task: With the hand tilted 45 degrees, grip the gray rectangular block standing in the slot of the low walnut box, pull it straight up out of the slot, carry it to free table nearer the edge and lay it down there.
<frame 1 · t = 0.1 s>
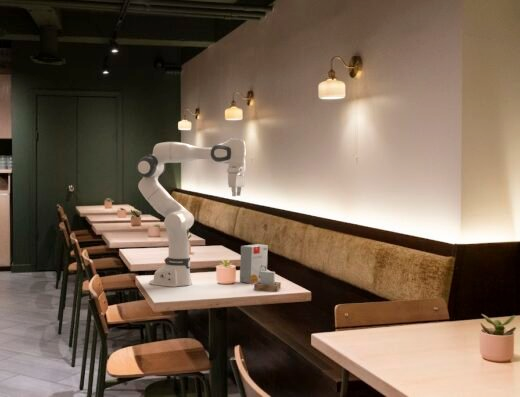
hand: (236, 195, 333), 48 cm above the table, tool pointing down, fingers open, 8 cm apart
hard drive box: (253, 281, 356), on the table
walnut box: (267, 288, 334), on the table
gray rectangular block: (267, 289, 334), resting in walnut box
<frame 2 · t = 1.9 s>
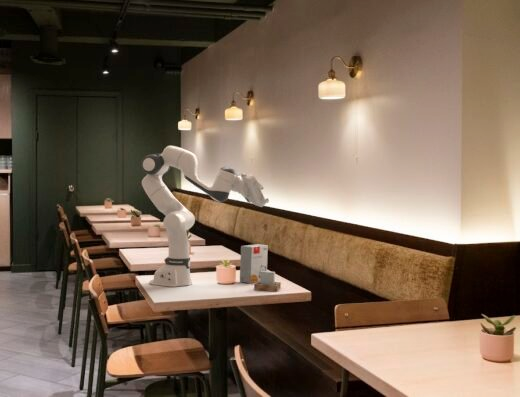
hand: (265, 194, 326), 49 cm above the table, tool horizontal, fingers open, 8 cm apart
nothing on the table moved.
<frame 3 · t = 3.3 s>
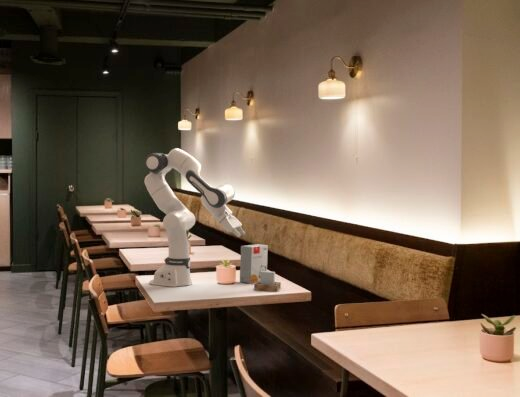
hand: (242, 235, 335), 27 cm above the table, tool tilted 45°, fingers open, 8 cm apart
nothing on the table moved.
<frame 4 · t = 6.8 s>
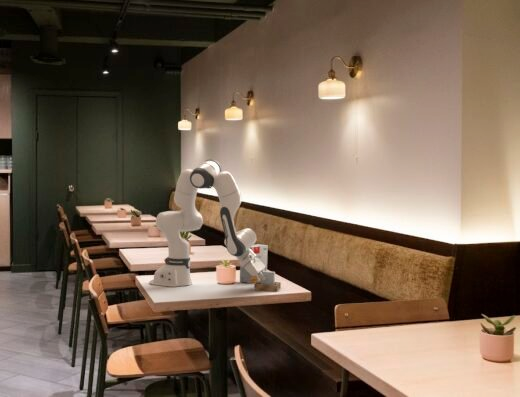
hand: (266, 278, 334), 5 cm above the table, tool tilted 45°, fingers closed on gray rectangular block, 3 cm apart
gray rectangular block: (267, 289, 334), resting in walnut box, touching gripper
everything else where it was.
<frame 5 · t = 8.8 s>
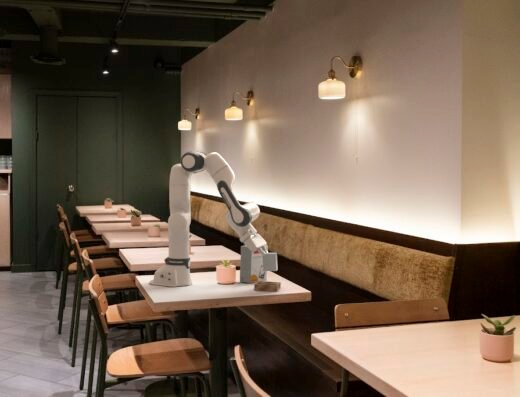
hand: (266, 254, 332), 18 cm above the table, tool tilted 45°, fingers closed on gray rectangular block, 3 cm apart
gray rectangular block: (270, 270, 333), point 10 cm above the table, tilted 7°, touching gripper
everything else where it was.
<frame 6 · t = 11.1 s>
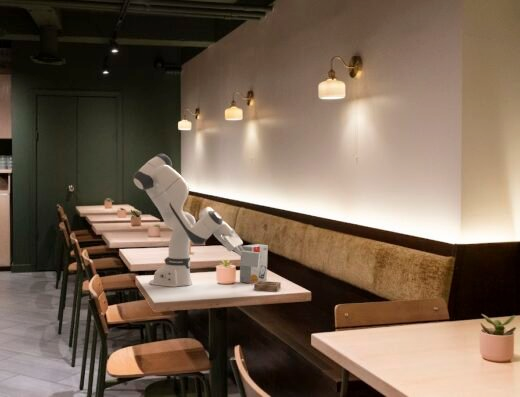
hand: (242, 254, 322), 19 cm above the table, tool tilted 45°, fingers closed on gray rectangular block, 3 cm apart
gray rectangular block: (258, 259, 321), point 17 cm above the table, tilted 86°, touching gripper
everything else where it was.
when the fingers open (7 cm above the table, at t = 14.3 s): gray rectangular block drops 1 cm, point 3 cm above the table.
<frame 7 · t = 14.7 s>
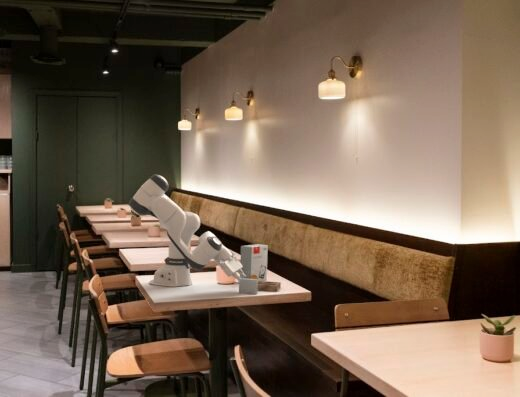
hand: (242, 278, 323), 7 cm above the table, tool tilted 45°, fingers open, 7 cm apart
gray rectangular block: (257, 286, 321), point 3 cm above the table, tilted 90°
everything else where it was.
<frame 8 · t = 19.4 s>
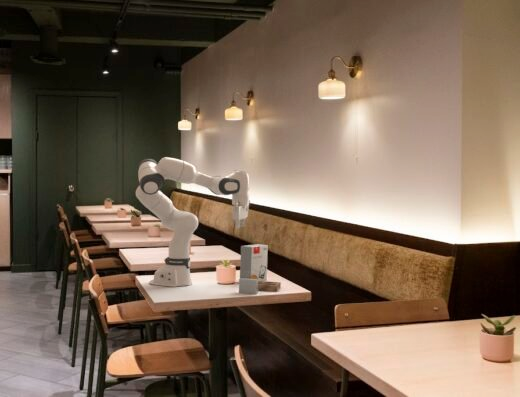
hand: (239, 227, 338), 31 cm above the table, tool pointing down, fingers open, 8 cm apart
nothing on the table moved.
at the end: gray rectangular block inside the target area (4.3 cm from its centre), point 3.4 cm above the table; gray rectangular block touching table; the gripper is holding nothing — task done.
